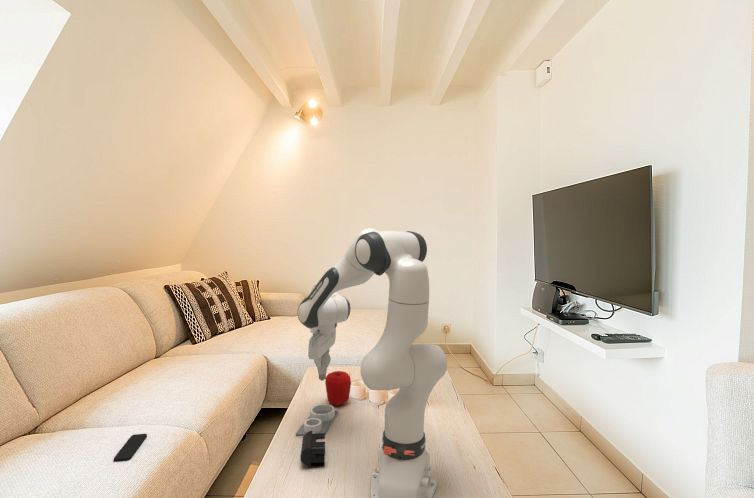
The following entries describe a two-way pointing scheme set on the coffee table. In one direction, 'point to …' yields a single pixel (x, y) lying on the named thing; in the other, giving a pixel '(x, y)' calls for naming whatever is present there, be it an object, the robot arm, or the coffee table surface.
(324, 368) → the lightbulb
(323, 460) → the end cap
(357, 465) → the coffee table surface
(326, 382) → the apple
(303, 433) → the socket board
